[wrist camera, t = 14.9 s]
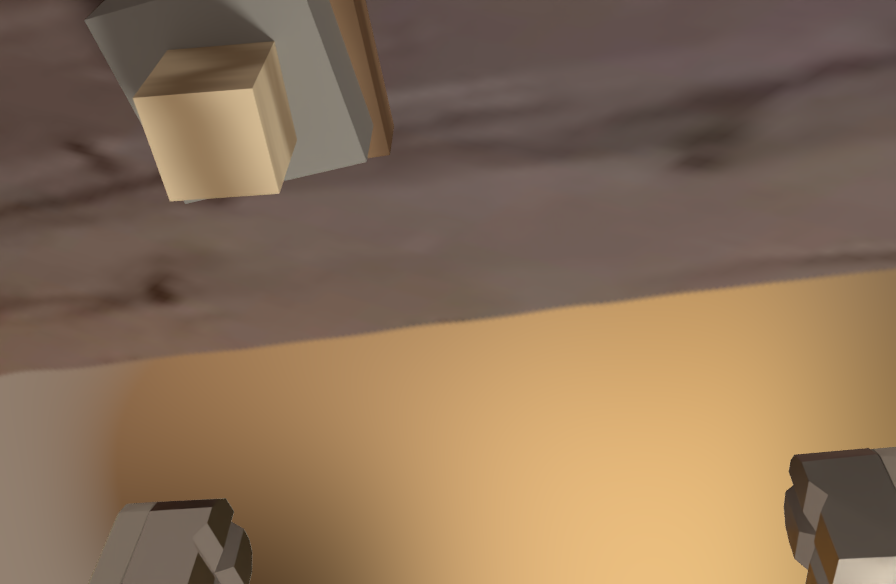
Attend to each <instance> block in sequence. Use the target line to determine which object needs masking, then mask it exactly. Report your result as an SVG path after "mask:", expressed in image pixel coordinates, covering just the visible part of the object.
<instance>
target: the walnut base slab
mask: <svg viewBox="0 0 896 584" xmlns="http://www.w3.org/2000/svg"><path fill="white" fill-rule="evenodd" d="M329 1H330V4H331V6H332V9H333V12H334V15H335V18H336V21H337V23H338V26H339V29H340V32H341V35H342V38H343V40H344V43H345V46H346V49H347V52H348V55H349V57H350V60H351V63H352V66H353V69H354V72H355V74H356V77H357V80H358V83H359V86H360V88H361V91H362V94H363V97H364V100H365V103H366V105H367V108H368V111H369V114H370V117H371V120H372V122H373V130H372V136H371V141H370V146H369V152H368V157H367V158H371V157H379V156H386V155H390V150H391V143H392V136H393V129H394V124H393V120H392V115H391V111H390V107H389V102H388V98H387V93H386V89H385V85H384V80H383V76H382V71H381V67H380V63H379V58H378V54H377V49H376V45H375V41H374V36H373V32H372V27H371V23H370V19H369V14H368V10H367V5H366V1H365V0H329Z"/></svg>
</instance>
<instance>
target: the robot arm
mask: <svg viewBox="0 0 896 584" xmlns="http://www.w3.org/2000/svg"><path fill="white" fill-rule="evenodd" d="M789 474H790V476H791V479H792V482H793V486H792V487H791V488H789V489H788V490H787V491H786V493H785V501H784V515H785V526H786V531H787V535H788V539H789V543H790V546H791V549H792V552H793V556H794V558H795V559H796V560H797V561H798V562H799V563H800V564H801V565H803V566H804V567H805V568H806V569H808V573H807V578H806V584H896V447H890V448H879V449H869V448H866V449H855V450H843V451H831V452H821V453H809V454H798V455H794V456H793V458H792V459H791V462H790V467H789ZM233 513H234V511H233V509H232V507H231V506H230V504H229V503H228V501H227V500H226V499H225V498H224V499H206V500H187V501H169V502H149V503H136V504H135V503H134V504H126V505H125V507H124V508H123V509H122V510H121V511H120V512H119V513H118V515H117V517H116V519H115V522H114V524H113V526H112V529H111V531H110V534H109V536H108V538H107V540H106V543H105V545H104V547H103V550H102V552H101V555H100V557H99V559H98V562H97V564H96V566H95V569H94V571H93V573H92V576H91V578H90V580H89V583H88V584H249V583H250V578H251V574H252V549H251V545H250V540H249V538H248V536H247V534H246V532H245V530H244V529H243V528H241V527H240V526H238V525H236V524H234V523H233V522H231V520H232V517H233Z"/></svg>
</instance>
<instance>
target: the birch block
mask: <svg viewBox="0 0 896 584" xmlns="http://www.w3.org/2000/svg"><path fill="white" fill-rule="evenodd" d="M133 100H134V103H135V106H136V109H137V111H138V114H139V117H140V120H141V122H142V125H143V128H144V131H145V134H146V136H147V139H148V142H149V145H150V147H151V150H152V153H153V156H154V158H155V161H156V164H157V167H158V169H159V172H160V175H161V178H162V181H163V183H164V186H165V189H166V192H167V194H168V197H169V200H170V201H181V200H195V199H209V198H223V197H237V196H251V195H265V194H279V193H280V190H281V187H282V184H283V181H284V178H285V175H286V172H287V169H288V166H289V163H290V160H291V157H292V154H293V151H294V148H295V145H296V142H297V137H296V133H295V129H294V124H293V120H292V115H291V111H290V107H289V102H288V98H287V94H286V89H285V85H284V81H283V76H282V72H281V67H280V63H279V59H278V54H277V50H276V46H275V41H270V42H258V43H246V44H234V45H222V46H211V47H199V48H187V49H175V50H167V51H166V53H165V54H164V55H163V57H162V58H161V60H160V61H159V62H158V64H157V65H156V66H155V68H154V69H153V71H152V72H151V73H150V75H149V76H148V77H147V79H146V80H145V82H144V83H143V84H142V86H141V87H140V89H139V90H138V91H137V93H136V94H135V95H134V97H133Z"/></svg>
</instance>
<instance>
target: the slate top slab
mask: <svg viewBox="0 0 896 584" xmlns="http://www.w3.org/2000/svg"><path fill="white" fill-rule="evenodd" d="M84 21H85V22H86V24H87V26H88V28H89V30H90V31H91V33H92V35H93V37H94V39H95V41H96V42H97V44H98V46H99V48H100V50H101V51H102V53H103V55H104V57H105V59H106V61H107V62H108V64H109V66H110V68H111V70H112V71H113V73H114V75H115V77H116V79H117V81H118V82H119V84H120V86H121V88H122V90H123V91H124V93H125V95H126V97H127V99H128V100H129V102H130V104H131V106H132V108H133V110H134V111H135V113H136V115H137V117H138V119H139V120H140V117H139V114H138V111H137V109H136V106H135V103H134V100H133V97H134V95H135V94H136V93H137V91H138V90H139V89H140V87H141V86H142V84H143V83H144V82H145V80H146V79H147V77H148V76H149V75H150V73H151V72H152V71H153V69H154V68H155V66H156V65H157V64H158V62H159V61H160V60H161V58H162V57H163V55H164V54H165V53H166V51H167V50H175V49H187V48H199V47H211V46H222V45H234V44H246V43H258V42H270V41H275V46H276V50H277V54H278V59H279V63H280V67H281V72H282V76H283V81H284V85H285V89H286V94H287V98H288V102H289V107H290V111H291V115H292V120H293V124H294V129H295V133H296V137H297V142H296V145H295V148H294V151H293V154H292V157H291V160H290V163H289V166H288V169H287V172H286V175H285V178H284V181H286V180H290V179H295V178H299V177H303V176H307V175H312V174H316V173H320V172H325V171H329V170H333V169H338V168H342V167H346V166H351V165H355V164H359V163H364V162H367V157H368V152H369V146H370V141H371V136H372V130H373V122H372V120H371V117H370V114H369V111H368V108H367V105H366V103H365V100H364V97H363V94H362V91H361V88H360V86H359V83H358V80H357V77H356V74H355V72H354V69H353V66H352V63H351V60H350V57H349V55H348V52H347V49H346V46H345V43H344V40H343V38H342V35H341V32H340V29H339V26H338V23H337V21H336V18H335V15H334V12H333V9H332V6H331V4H330V1H329V0H104V1H103V2H102V3H101V4H100V5H99V6H98V7H97V8H96V9H95V10H94V11H93V12H92V13H91V14H90V15H89V16H88V17H87V18H86V19H85V20H84ZM140 122H141V120H140ZM141 124H142V122H141ZM142 126H143V125H142ZM200 200H204V199H195V200H184V202H185V204H187V203H191V202H195V201H200Z"/></svg>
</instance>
